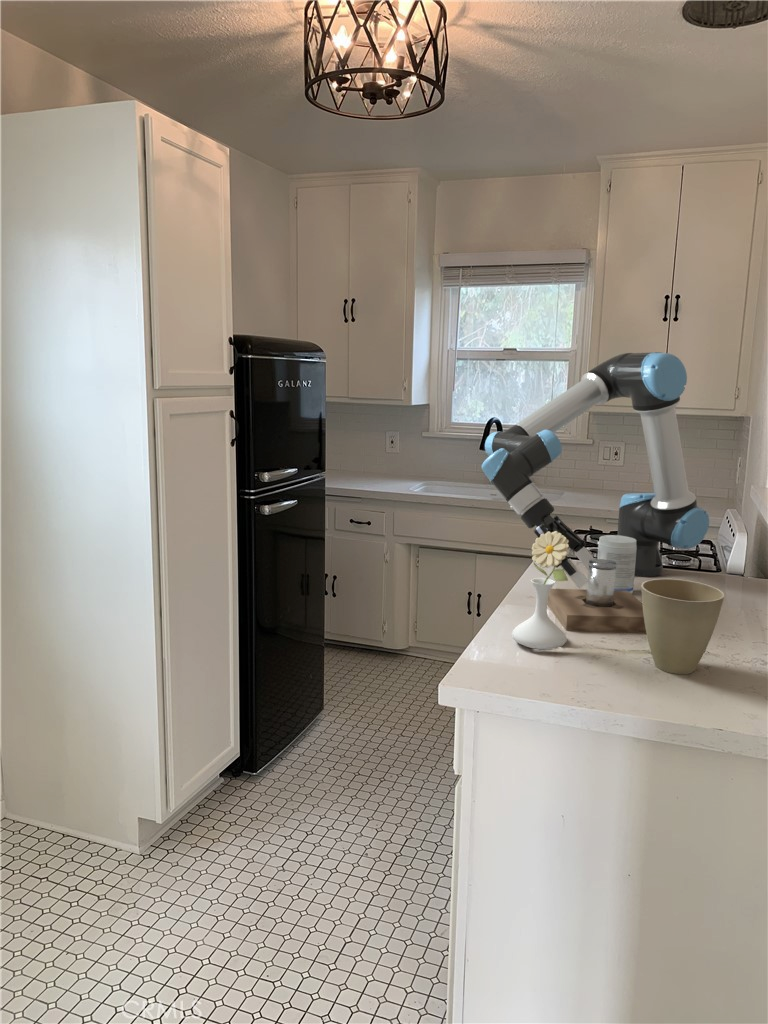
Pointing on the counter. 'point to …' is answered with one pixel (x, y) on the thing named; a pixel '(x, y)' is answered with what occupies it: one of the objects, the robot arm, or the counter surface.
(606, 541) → the supplement tub
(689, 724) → the counter surface
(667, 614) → the plant pot
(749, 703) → the counter surface
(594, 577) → the silver capped jar
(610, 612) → the walnut socket block
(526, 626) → the flower in vase
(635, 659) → the counter surface
